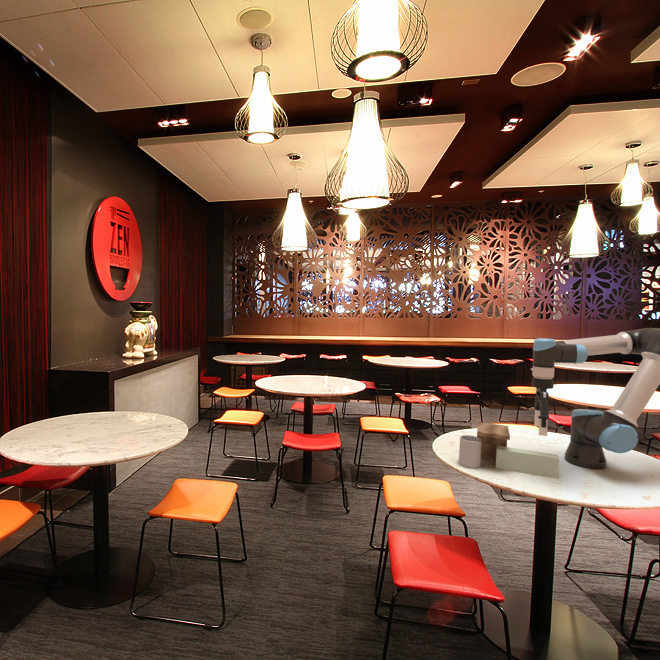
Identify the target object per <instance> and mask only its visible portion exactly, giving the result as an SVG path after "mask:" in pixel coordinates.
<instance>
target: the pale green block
mask: <svg viewBox="0 0 660 660" xmlns="http://www.w3.org/2000/svg"><path fill="white" fill-rule="evenodd" d="M559 467H560V457H559V456H558V454H554V453H548V452H542V451H537V450H536V451H535V450H530V449H529V450H528V449H522V448H516V447H509V446H507V447H503V446H497V449H496V460H495V469H500V470H506V471H512V472H517V473H523V474H528V475H529V474H530V475H534V476H541V477H546V478H550V479H551V478H552V479H559Z"/></svg>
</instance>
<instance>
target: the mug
mask: <svg viewBox="0 0 660 660" xmlns="http://www.w3.org/2000/svg"><path fill="white" fill-rule="evenodd" d="M481 444H482V440H481V439H480V438H478V437H477V436H474V435H470V434H469V435H468V434H466V435H465V434H464V435H461V436H460V437H459V447H458V448H459V452H458V453H459V455H458V464H459V465H460V466H462V467H465V468H468V469H479V468H480V467H481V466H482V465H481V461H482V460H481V459H482V458H481Z"/></svg>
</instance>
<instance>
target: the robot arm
mask: <svg viewBox="0 0 660 660" xmlns="http://www.w3.org/2000/svg"><path fill="white" fill-rule="evenodd" d="M619 353H620V354H622V355H631V354H632V355H640V356H641V357H642V360H641V362H640V363H639V365H638V366H637V368H636V370H635V371H634V373H632V376H631V377H630V379H629V381H628V382H627V384H626V386H625V387H624V388H623V390H622V391H621V393H620V395H619V397H618V398H617V399H616V401H615V403H614V404H613V406H612V407H611V408H610V409H607V410H604V411H603V410H597V409H587V408H586V409H585V408H584V409H583V408H574V409H573V410H572V413H571V421H570V422H571V424H570V425H571V426H570V437H569V438H570V439H569V441H570V442H569V443H568V445H567V447H566V449H565V453H564V460H565V461H566V462H568V463H570V464H572V465H575V466H578V467H582V468H586V469H592V470H603V469H606V468H607V459H606V454H605V452H604V450H606V451H609V452H612V453H614V454H615V453H616V454H626V453H628V452H631V451H632V450H633V449H634V448H635V447H636V446H637V445H638V443H639V438H638V436H639V434H638V432H637V429H638V428H639V426H638V423H637V421H638V419H639V417H640V415H641V414H642V412H643V411H644V410H645V408H646V406H647V405H648V404H649V402H650V400H651V398H652V396H653V395H654V394H655V392H656V391H657V388H658V387H659V386H660V328H658V327H645V328H640V329H638V328H637V329H634V330H633V329H632V330H626V331H620V332H618V333H617V334H613V335H612V334H611V335H605V336H604V335H602V336H594V337H586V338H585V337H583V338H574V339H565V340H557V341H556V340H555V339H554V338H543V337H542V338H540V337H539V338H538V337H537V338H535V339H534V341H533V348H532V367H531V368H530V371H532V376H533V377H531V386H532V388H535V389H536V390H535V401H534V424H533V425H534V427H538V436H541V437H542V436H543V437H547V436H548V427H549V426H548V425H549V424H548V421H549V419H550V412H549V408H550V407H549V395H550V394H549V392H547V390H549V389H551V390H553V388H554V386H555V385H554V377H555V364H575V365H576V364H583V363H585V362H586V361H587V359H588V356H589V357H590V356H595V355H596V356H597V355H607V354H619Z"/></svg>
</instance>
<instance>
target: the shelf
mask: <svg viewBox="0 0 660 660" xmlns="http://www.w3.org/2000/svg"><path fill="white" fill-rule="evenodd" d="M476 437H478V438H480V439H481V440H482V444H481V459H486V460H493V461H496V449H497V446H503V447H508V441H511V435H510V429H509V426H508V425H505V424H504V425H502V424H498V423H497V424H496V423H489V422H488V423H487V422H480V421H478V422H477V429H476Z"/></svg>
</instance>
